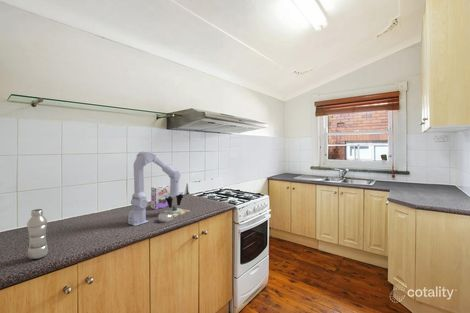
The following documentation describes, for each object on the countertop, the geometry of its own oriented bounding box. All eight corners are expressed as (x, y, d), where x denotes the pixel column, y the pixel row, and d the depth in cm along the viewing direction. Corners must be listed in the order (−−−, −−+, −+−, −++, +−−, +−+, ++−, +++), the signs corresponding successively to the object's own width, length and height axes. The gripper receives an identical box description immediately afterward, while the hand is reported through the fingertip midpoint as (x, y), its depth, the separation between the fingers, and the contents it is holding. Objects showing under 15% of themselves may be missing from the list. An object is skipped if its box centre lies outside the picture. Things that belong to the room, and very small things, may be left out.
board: (172, 217, 149) (172, 216, 148) (158, 214, 156) (158, 212, 156) (189, 212, 162) (189, 210, 162) (176, 208, 170) (176, 207, 170)
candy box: (155, 210, 166) (155, 187, 166) (150, 208, 170) (150, 187, 169) (170, 206, 177) (170, 185, 177) (166, 204, 181) (166, 184, 180)
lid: (174, 214, 152) (174, 208, 152) (164, 212, 157) (164, 206, 157) (184, 211, 161) (184, 205, 161) (174, 209, 165) (174, 203, 165)
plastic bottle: (29, 262, 90) (27, 213, 89) (26, 257, 94) (25, 210, 93) (49, 257, 94) (48, 210, 94) (46, 252, 99) (45, 207, 98)
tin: (164, 224, 137) (164, 217, 137) (155, 221, 142) (155, 214, 142) (176, 220, 144) (176, 214, 144) (167, 217, 149) (166, 211, 149)
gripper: (170, 189, 150) (170, 209, 151) (186, 186, 162) (186, 205, 163) (163, 188, 154) (163, 207, 154) (179, 185, 166) (179, 203, 167)
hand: (174, 206), depth 159 cm, fingers open, 7 cm apart
